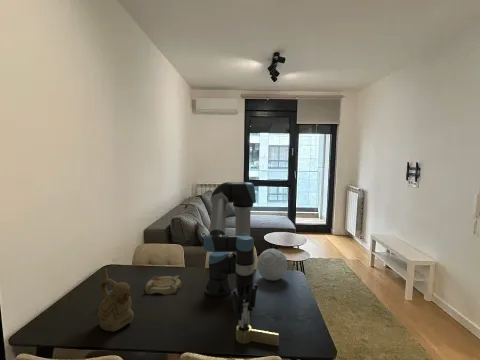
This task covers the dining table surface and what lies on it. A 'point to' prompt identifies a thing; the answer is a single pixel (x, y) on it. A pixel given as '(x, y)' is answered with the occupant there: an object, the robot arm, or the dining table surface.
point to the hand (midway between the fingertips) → (243, 324)
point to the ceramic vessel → (114, 304)
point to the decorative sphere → (272, 264)
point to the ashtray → (163, 285)
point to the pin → (245, 314)
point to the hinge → (256, 336)
